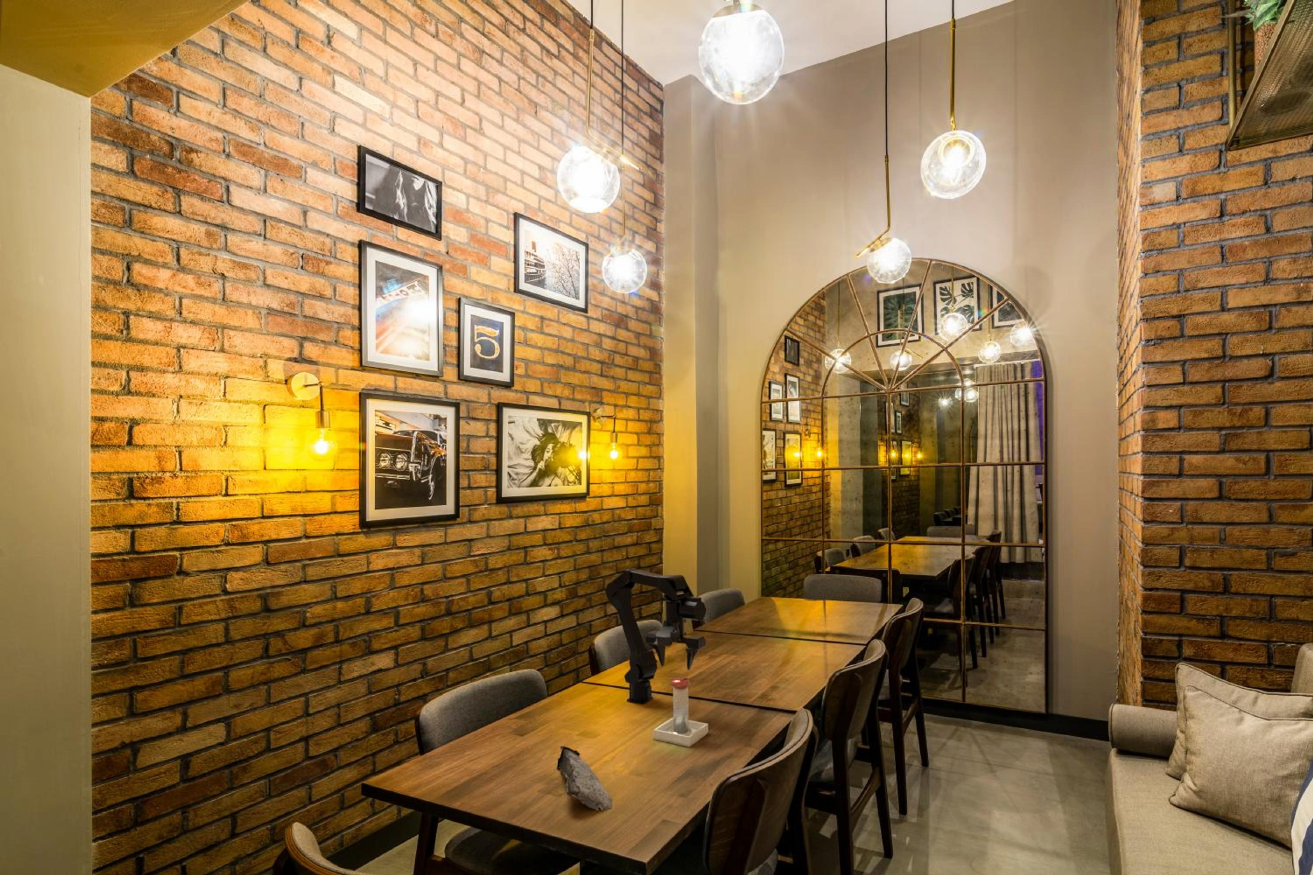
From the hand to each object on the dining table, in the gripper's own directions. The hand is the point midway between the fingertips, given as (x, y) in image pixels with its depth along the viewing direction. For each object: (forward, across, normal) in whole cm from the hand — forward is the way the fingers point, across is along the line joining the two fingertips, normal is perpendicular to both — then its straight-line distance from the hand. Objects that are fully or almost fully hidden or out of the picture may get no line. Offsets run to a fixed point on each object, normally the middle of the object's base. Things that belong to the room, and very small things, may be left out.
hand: (675, 667), depth 206 cm
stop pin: (+12, +11, -17) cm, 24 cm away
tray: (+13, +11, -17) cm, 24 cm away
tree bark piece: (+14, +5, -54) cm, 56 cm away
